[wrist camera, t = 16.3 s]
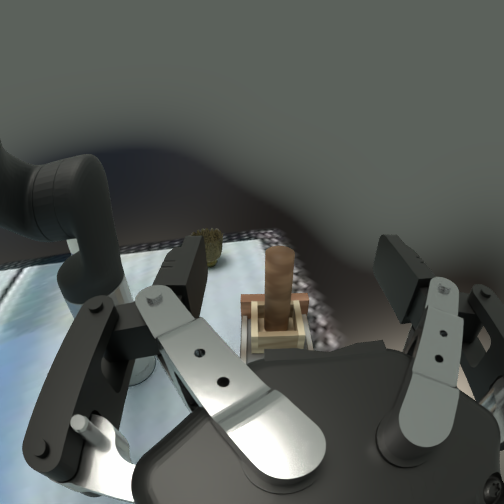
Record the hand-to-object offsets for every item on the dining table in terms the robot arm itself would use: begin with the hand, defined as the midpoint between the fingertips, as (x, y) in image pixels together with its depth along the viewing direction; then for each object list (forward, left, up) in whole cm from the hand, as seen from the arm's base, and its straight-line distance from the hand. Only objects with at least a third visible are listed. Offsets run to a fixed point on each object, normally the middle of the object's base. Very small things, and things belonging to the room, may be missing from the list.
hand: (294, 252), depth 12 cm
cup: (-39, +27, -30) cm, 56 cm away
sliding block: (-12, +17, -28) cm, 35 cm away
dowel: (-13, +18, -27) cm, 35 cm away
